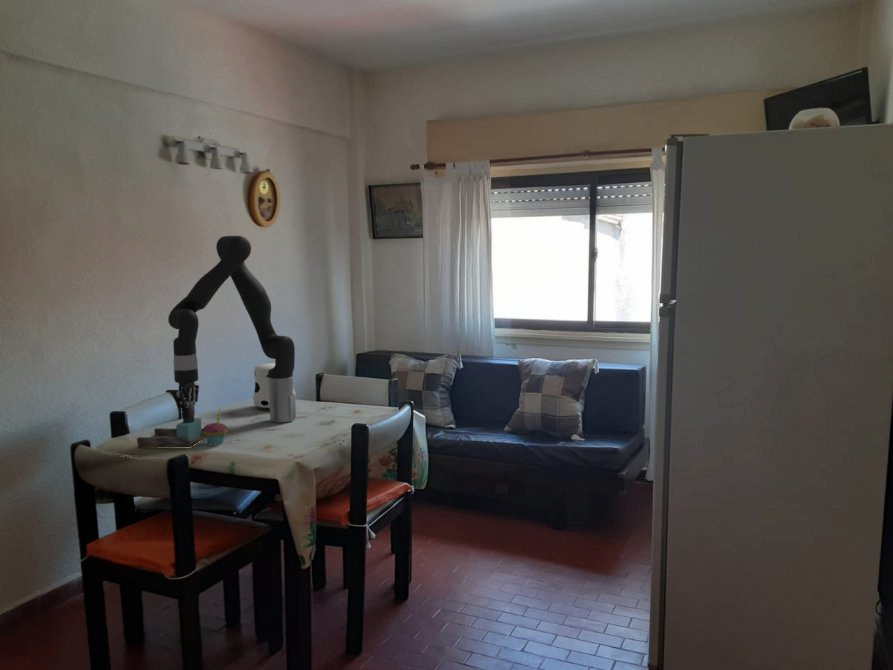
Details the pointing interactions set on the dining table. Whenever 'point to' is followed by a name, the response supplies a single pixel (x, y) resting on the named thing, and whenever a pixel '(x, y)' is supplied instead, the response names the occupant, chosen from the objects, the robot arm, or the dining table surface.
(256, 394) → the milk container
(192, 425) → the press jaw
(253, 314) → the robot arm
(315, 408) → the dining table surface
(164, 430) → the press base
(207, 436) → the cupcake
